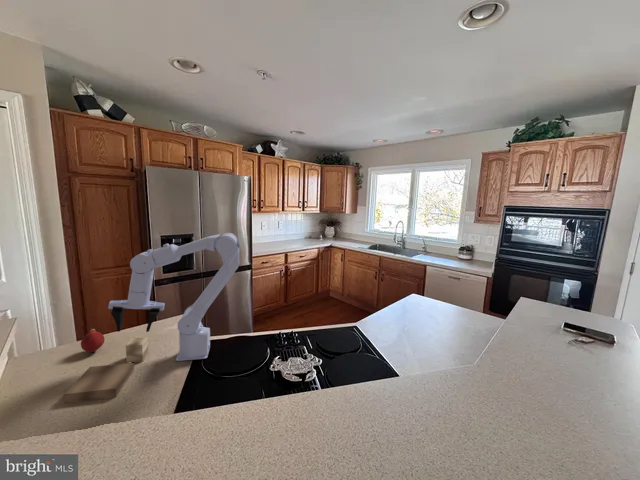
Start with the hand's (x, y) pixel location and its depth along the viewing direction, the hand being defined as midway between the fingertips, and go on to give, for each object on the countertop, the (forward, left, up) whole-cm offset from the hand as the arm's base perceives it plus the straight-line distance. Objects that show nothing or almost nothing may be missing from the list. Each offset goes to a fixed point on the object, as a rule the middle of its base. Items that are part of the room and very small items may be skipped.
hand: (134, 330), depth 81 cm
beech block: (-1, 0, -10) cm, 10 cm away
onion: (+14, -6, -10) cm, 18 cm away
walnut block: (+3, +12, -10) cm, 16 cm away
